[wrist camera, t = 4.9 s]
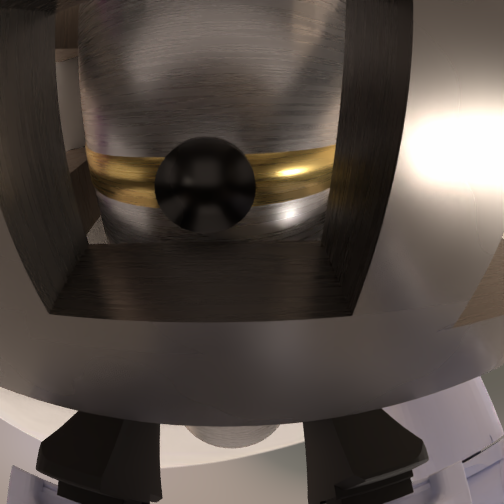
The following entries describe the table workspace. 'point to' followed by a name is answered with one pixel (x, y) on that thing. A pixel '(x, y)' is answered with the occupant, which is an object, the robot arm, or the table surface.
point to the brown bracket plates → (268, 243)
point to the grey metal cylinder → (211, 124)
